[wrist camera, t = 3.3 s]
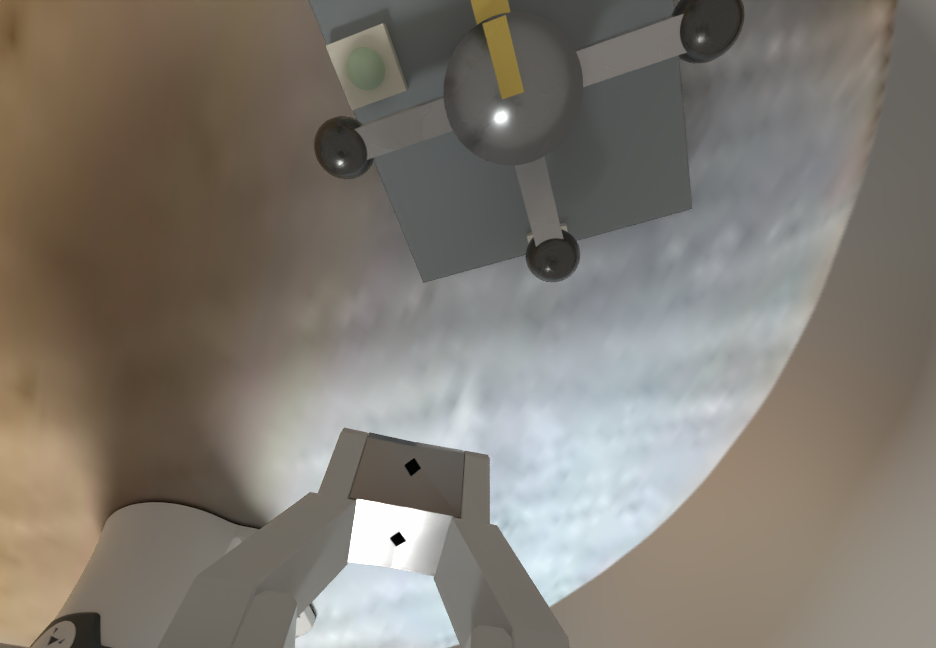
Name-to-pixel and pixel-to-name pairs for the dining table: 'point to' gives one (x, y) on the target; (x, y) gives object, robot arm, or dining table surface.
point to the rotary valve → (496, 186)
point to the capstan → (527, 101)
